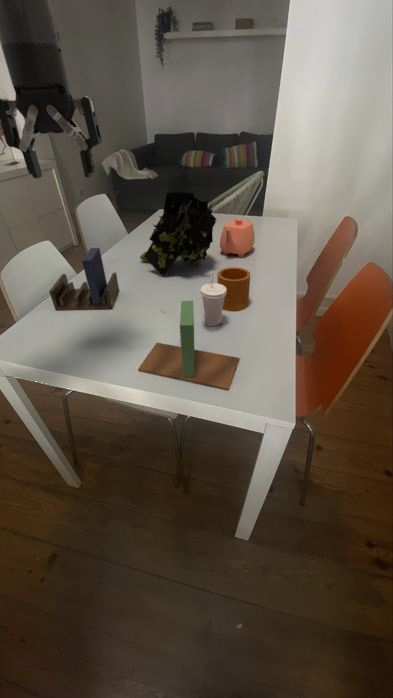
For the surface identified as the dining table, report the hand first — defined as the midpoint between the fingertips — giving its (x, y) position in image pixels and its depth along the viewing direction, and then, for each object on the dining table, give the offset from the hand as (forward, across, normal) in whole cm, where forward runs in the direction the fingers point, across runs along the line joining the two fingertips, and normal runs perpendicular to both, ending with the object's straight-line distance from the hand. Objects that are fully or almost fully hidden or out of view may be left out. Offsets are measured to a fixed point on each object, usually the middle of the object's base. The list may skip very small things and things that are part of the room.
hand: (63, 177), depth 53 cm
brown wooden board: (+36, +20, -7) cm, 42 cm away
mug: (+36, +33, +21) cm, 53 cm away
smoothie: (+36, +26, +10) cm, 46 cm away
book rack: (+36, -10, +23) cm, 44 cm away
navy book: (+35, -6, +23) cm, 42 cm away
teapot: (+36, +37, +58) cm, 78 cm away
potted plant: (+36, +15, +46) cm, 60 cm away
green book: (+36, +20, -7) cm, 41 cm away
